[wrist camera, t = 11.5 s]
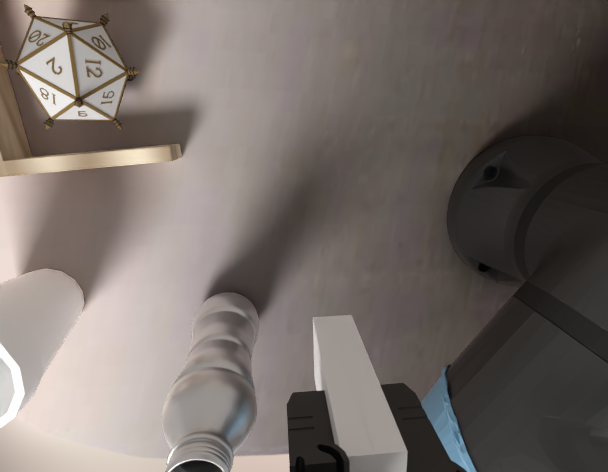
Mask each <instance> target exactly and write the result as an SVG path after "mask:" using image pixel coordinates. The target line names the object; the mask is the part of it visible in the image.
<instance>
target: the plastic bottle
mask: <svg viewBox="0 0 608 472" xmlns="http://www.w3.org/2000/svg"><path fill="white" fill-rule="evenodd" d="M258 332H259V318H258V314H257V311H256V309H255V307H254V305H253V304H252V303H251V301H250V300H248V299H247V298H246V297H244V296H242V295H240V294H237V293H230V292H226V293H220V294H216V295H214V296H212V297H210V298H209V299H207V300H206V301H205V302H204V303H203V304H202V305H201V306H200V308H199V309H198V310H197V312H196V314H195V315H194V318H193V321H192V330H191V338H192V340H191V346H190V352H189V355H188V357H187V359H186V362H185V364H184V367H183V369H182V371H181V373H180V374H179V376H178V378H177V380H176V381H175V383H174V385H173V386H172V388H171V390H170V391H169V393H168V396H167V398H166V400H165V402H164V405H163V408H162V428H163V433H164V436H165V438H166V441H167V443H168V445H169V447H170V448H171V449H170V452H169V455H168V459H167V468H166V471H165V472H230V470H231V468H232V465H233V457H234V453H235V452H236V451H237V450H238V449H239V448H240V447H241V446H242V445H243V444H244V443H245V441H246V440H247V438H248V437H249V435H250V433H251V430H252V428H253V425H254V423H255V421H256V416H257V405H256V396H255V390H254V385H253V379H252V368H251V357H252V352H253V346H254V344H255V342H256V339H257V336H258Z"/></svg>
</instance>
